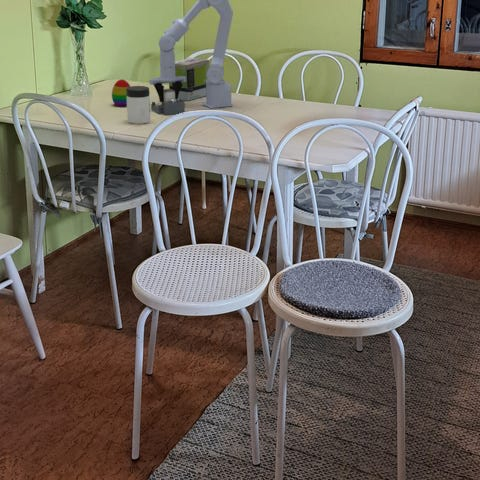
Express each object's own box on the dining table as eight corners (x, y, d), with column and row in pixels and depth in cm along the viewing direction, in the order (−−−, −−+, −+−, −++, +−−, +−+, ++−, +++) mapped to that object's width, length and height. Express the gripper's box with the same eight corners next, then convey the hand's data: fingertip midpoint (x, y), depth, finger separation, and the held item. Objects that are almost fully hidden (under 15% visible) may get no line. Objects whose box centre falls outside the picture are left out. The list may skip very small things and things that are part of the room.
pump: (172, 103, 316) (171, 87, 314) (177, 105, 312) (177, 90, 310) (160, 104, 314) (159, 89, 312) (165, 107, 310) (164, 91, 308)
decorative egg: (108, 106, 311) (107, 80, 307) (118, 102, 318) (117, 76, 314) (127, 108, 308) (125, 82, 304) (137, 103, 315) (136, 78, 311)
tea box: (191, 92, 337) (191, 56, 331) (210, 95, 331) (210, 59, 326) (168, 98, 325) (167, 61, 320) (187, 101, 320) (187, 64, 314)
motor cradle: (176, 107, 310) (176, 93, 308) (187, 112, 301) (187, 98, 299) (151, 109, 305) (150, 96, 303) (161, 115, 297) (161, 101, 295)
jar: (132, 125, 283) (131, 91, 278) (122, 120, 289) (121, 87, 284) (155, 122, 287) (154, 88, 283) (144, 117, 294) (143, 84, 289)
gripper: (180, 63, 314) (181, 97, 319) (146, 66, 308) (147, 101, 313) (188, 66, 308) (188, 101, 313) (153, 69, 302) (154, 104, 307)
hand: (168, 101), depth 313 cm, fingers closed on pump, 5 cm apart
